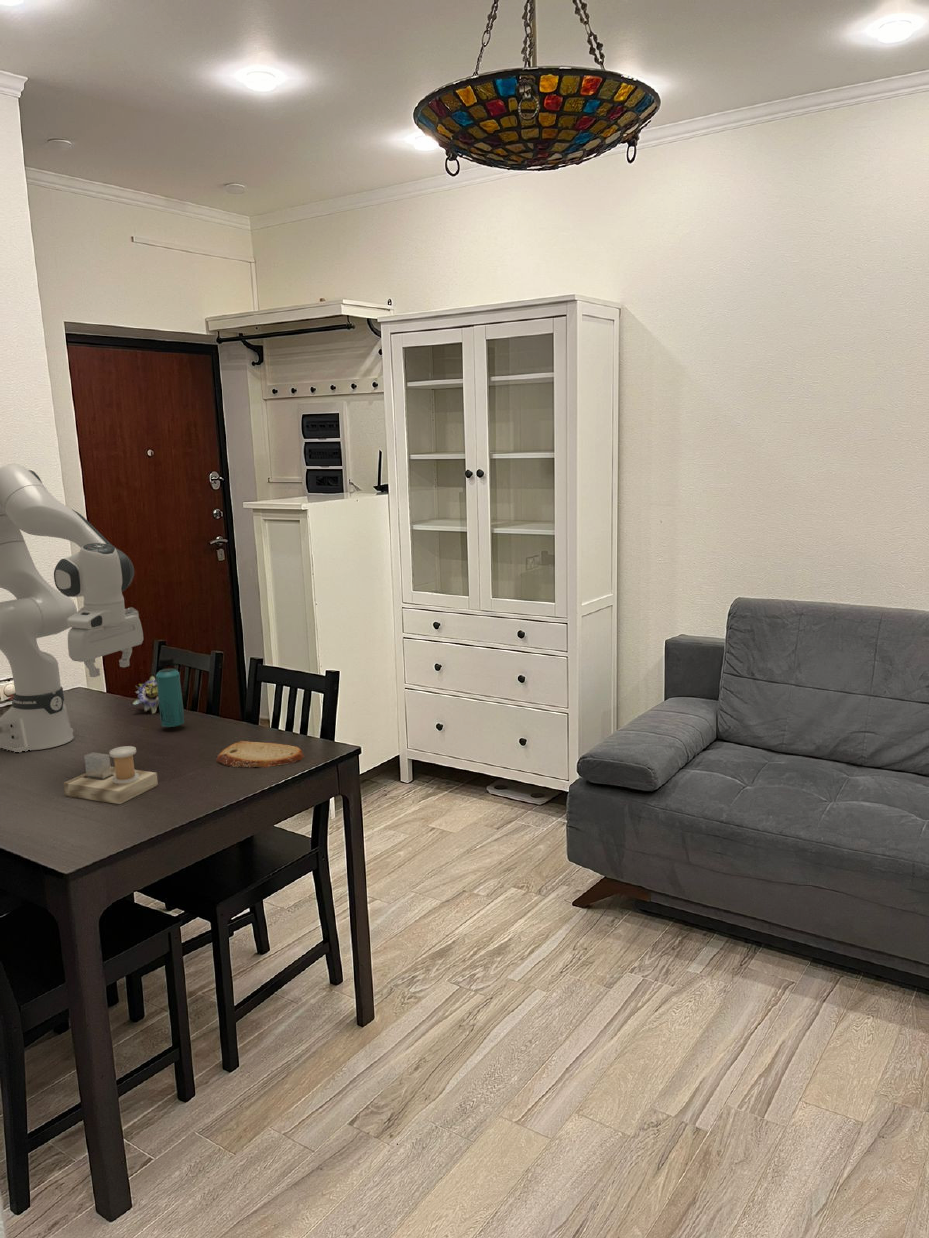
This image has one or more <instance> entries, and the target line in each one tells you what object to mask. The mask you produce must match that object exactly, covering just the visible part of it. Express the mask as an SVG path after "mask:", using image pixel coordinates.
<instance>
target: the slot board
mask: <svg viewBox="0 0 929 1238" xmlns="http://www.w3.org/2000/svg"><path fill="white" fill-rule="evenodd" d="M110 767H111V777H109V778H107V779H105V780H97V779H90V778H87V776H86V772H85V773H83V774H80V775H78V776H76V777H74V778H71V779H69V780H66V781H64V782H63V790H64V796H66V797H73V798H77V797H78V798H79V799H85V800H90V801H96V802H97V801H98V802H104V803H108V804H109V803H110V804H116V805H121V804H124V803H126V802H128V801H130V800H132V799H133V798H135V797H137V796H139V795H141V794H144V793H145V792H147V791H149V790H151V789H153V788H155V787H158V786H159V784H158V773H157V772H153V771H145V770H139V769H134V771H135V773H138V774H139V779H138V780H137V781H135V782H133V783H129V784H122V785H119V784H114V783H113V780H112V778H113V777H114V776H115V775H116V772H115V766H111V765H110Z"/></svg>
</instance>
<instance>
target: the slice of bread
mask: <svg viewBox="0 0 929 1238" xmlns="http://www.w3.org/2000/svg"><path fill="white" fill-rule="evenodd" d="M303 757H305V755H304V753H303V751H302V749H300V748H299V747H298V746H293V745H290V744H282V743H274V742H259V741H247V740H246V741H244V740H240V741H238V742H234V743H232V744H231V745H229V746H227V747H226V748H224V749H223V750H222V751H221V752H220V753H219V754H218V755H217V757H216V759H215V761H216V763H220V764H223V765H224V766H227V767H229V768H230V767H231V768H238V767H249V768H248V769H251V768H250V767H265V768H270V767H269V766H276V767H278V766H277V765H281V764H284V763H292V762H295V761H298V760H301V759H302V758H303ZM302 760H303V759H302ZM302 760H301V761H302ZM298 762H299V761H298ZM295 763H296V762H295ZM292 764H293V763H292Z"/></svg>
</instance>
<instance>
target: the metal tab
mask: <svg viewBox="0 0 929 1238" xmlns="http://www.w3.org/2000/svg"><path fill="white" fill-rule="evenodd" d="M83 756H84V763H85V765H84V766H85V773H86V776H87V778H90V779H97V780H105V779H107V778H109V777H111V767H112V766H111V760H110V759H111V757H110V754H108V753H107V754H106V753H100V752H90V753H88V754H85V755H83ZM110 766H111V767H110Z"/></svg>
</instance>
